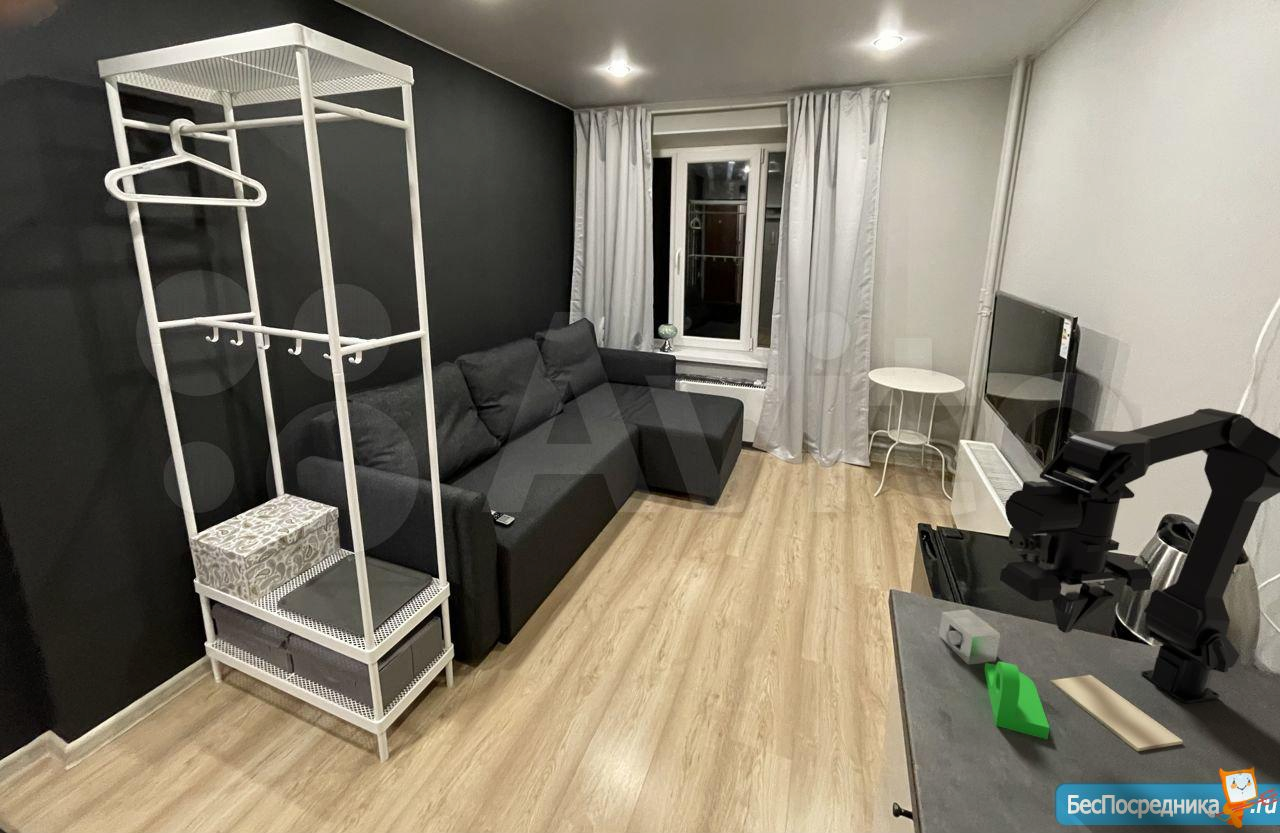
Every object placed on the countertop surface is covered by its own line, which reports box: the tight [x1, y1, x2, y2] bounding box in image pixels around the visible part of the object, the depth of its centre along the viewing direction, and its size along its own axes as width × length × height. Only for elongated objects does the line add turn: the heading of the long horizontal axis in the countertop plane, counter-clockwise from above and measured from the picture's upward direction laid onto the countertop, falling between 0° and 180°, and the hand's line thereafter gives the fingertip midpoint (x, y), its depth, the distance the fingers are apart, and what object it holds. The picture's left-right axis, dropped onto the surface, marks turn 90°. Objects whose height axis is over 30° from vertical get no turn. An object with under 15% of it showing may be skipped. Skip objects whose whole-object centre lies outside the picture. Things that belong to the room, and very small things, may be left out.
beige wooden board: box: [1050, 674, 1184, 752], centre depth 82 cm, size 7×13×1 cm, turn 10°
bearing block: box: [938, 609, 1001, 665], centre depth 94 cm, size 5×7×6 cm
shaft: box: [946, 621, 996, 645], centre depth 94 cm, size 7×4×4 cm, turn 100°
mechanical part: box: [984, 661, 1050, 740], centre depth 83 cm, size 12×6×8 cm, turn 157°
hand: (1063, 630), depth 80 cm, fingers closed
